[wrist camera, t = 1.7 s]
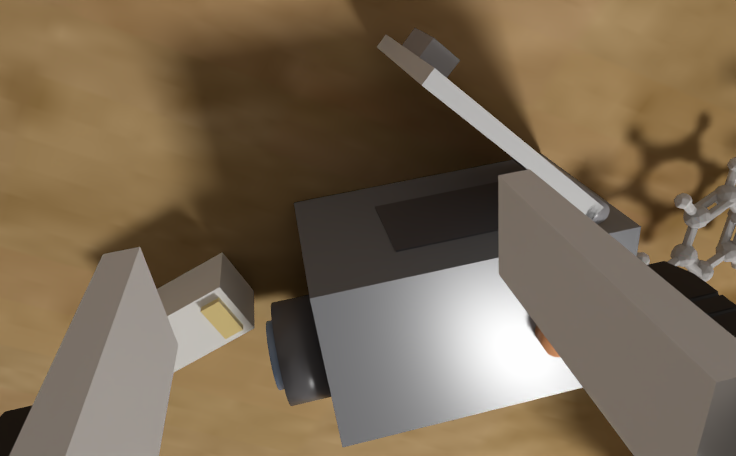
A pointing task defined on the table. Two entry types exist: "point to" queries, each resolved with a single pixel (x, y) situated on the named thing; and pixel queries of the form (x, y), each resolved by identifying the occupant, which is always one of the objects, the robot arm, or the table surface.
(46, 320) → the table surface
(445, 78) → the side door
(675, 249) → the molecular model
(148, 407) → the robot arm
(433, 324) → the grey box
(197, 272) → the block
